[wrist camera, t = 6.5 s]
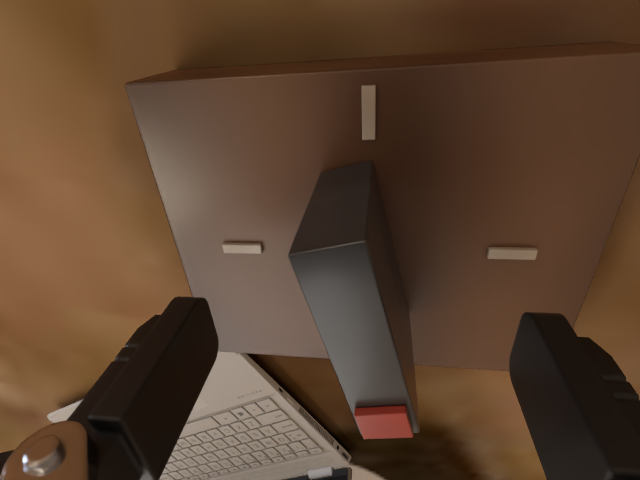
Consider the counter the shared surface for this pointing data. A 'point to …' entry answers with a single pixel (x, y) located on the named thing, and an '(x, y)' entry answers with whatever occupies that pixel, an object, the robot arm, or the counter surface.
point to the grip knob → (359, 299)
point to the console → (400, 184)
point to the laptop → (248, 431)
